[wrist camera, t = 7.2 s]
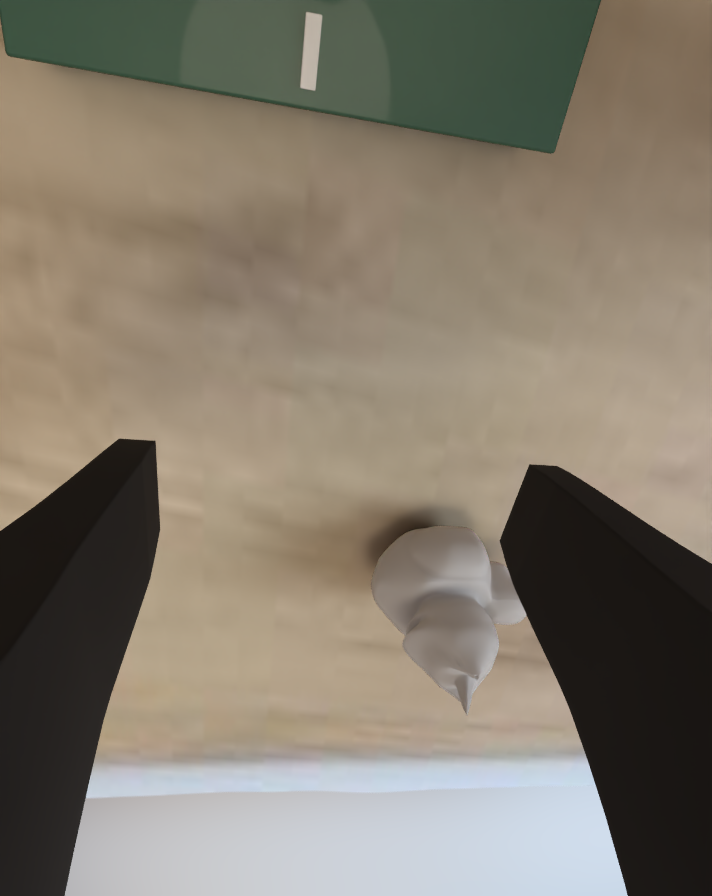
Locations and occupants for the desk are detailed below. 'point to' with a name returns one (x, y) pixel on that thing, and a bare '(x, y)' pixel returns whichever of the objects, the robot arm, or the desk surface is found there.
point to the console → (336, 55)
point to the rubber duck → (446, 604)
